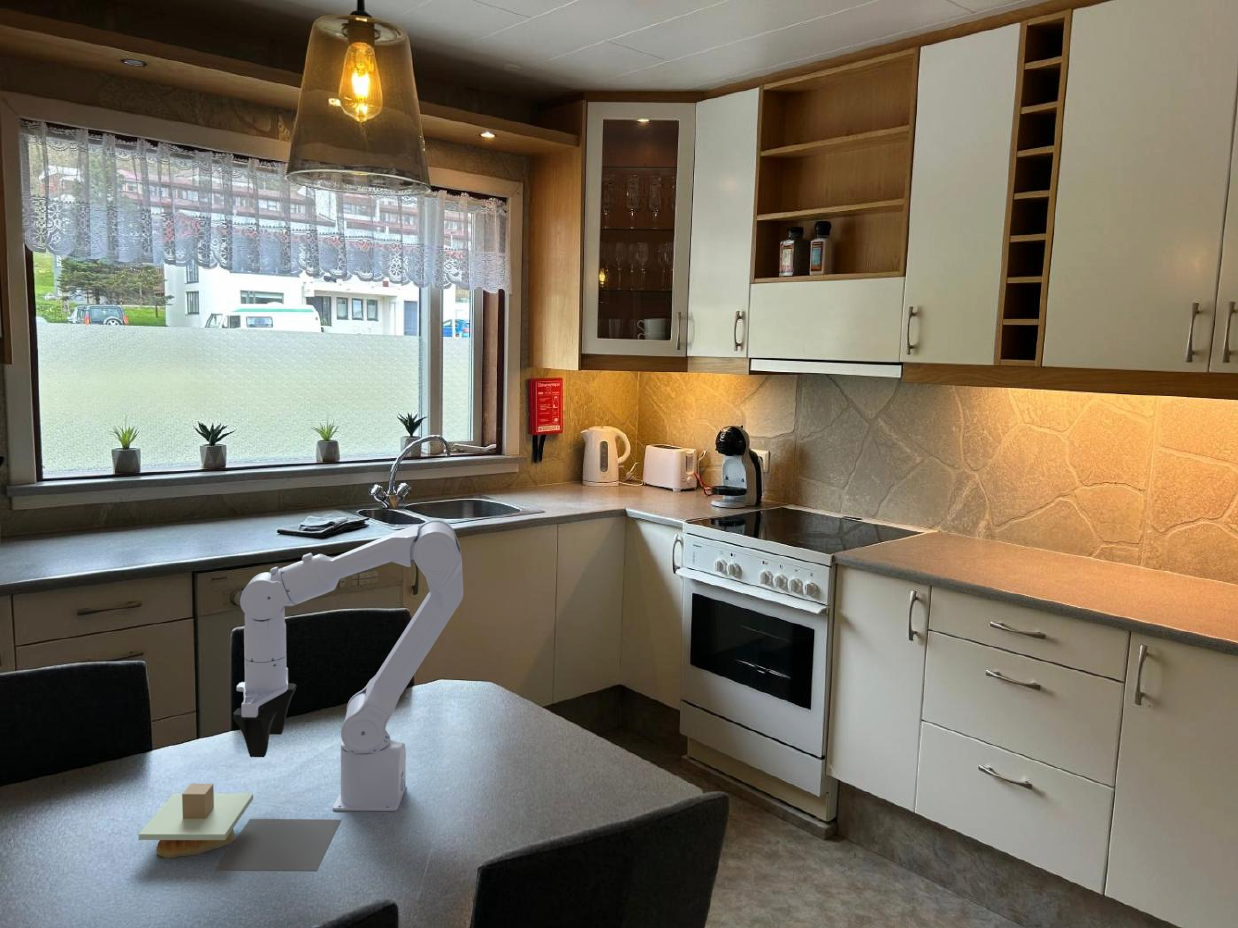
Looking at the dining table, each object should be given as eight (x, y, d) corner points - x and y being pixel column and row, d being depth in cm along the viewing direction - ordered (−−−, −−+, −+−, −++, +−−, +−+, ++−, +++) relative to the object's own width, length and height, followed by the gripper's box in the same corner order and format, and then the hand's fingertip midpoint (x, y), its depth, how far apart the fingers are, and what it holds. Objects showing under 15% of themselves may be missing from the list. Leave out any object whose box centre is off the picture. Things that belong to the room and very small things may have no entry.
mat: (341, 820, 132) (341, 819, 132) (316, 871, 119) (316, 870, 119) (250, 819, 132) (250, 818, 132) (215, 871, 119) (215, 869, 119)
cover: (253, 798, 131) (252, 770, 130) (225, 839, 120) (224, 809, 119) (174, 798, 130) (173, 769, 130) (138, 839, 119) (137, 808, 119)
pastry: (167, 870, 119) (166, 842, 119) (149, 849, 124) (148, 822, 123) (239, 844, 126) (238, 818, 125) (219, 825, 130) (219, 800, 130)
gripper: (254, 639, 140) (255, 723, 142) (218, 673, 126) (220, 766, 128) (301, 640, 141) (302, 724, 142) (270, 674, 126) (271, 767, 128)
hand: (266, 744), depth 135 cm, fingers open, 7 cm apart
